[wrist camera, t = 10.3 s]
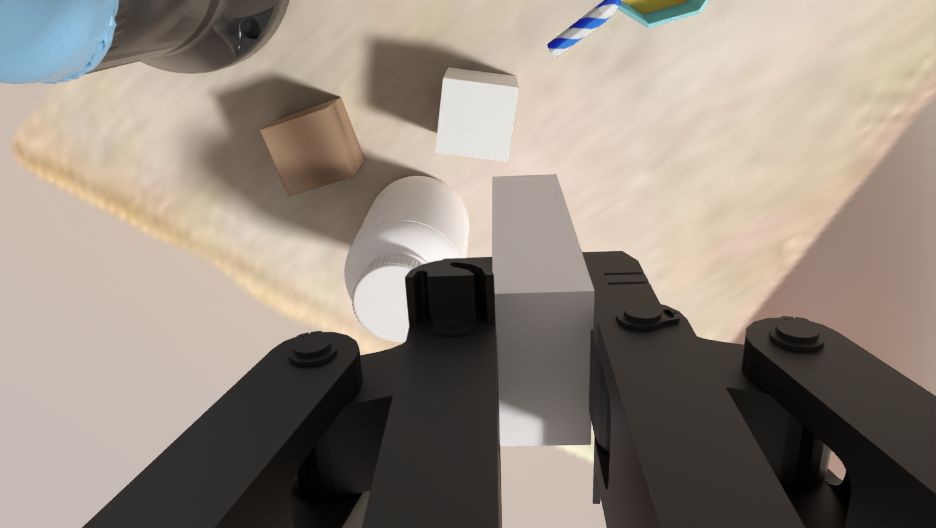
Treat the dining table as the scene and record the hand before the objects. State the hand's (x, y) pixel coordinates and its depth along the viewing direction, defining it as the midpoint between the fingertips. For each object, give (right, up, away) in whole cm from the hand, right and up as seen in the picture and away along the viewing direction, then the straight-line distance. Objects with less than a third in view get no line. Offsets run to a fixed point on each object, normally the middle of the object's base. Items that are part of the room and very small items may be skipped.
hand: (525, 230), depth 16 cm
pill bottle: (-5, +3, +39) cm, 39 cm away
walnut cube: (-12, +9, +36) cm, 39 cm away
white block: (-1, +11, +35) cm, 37 cm away
